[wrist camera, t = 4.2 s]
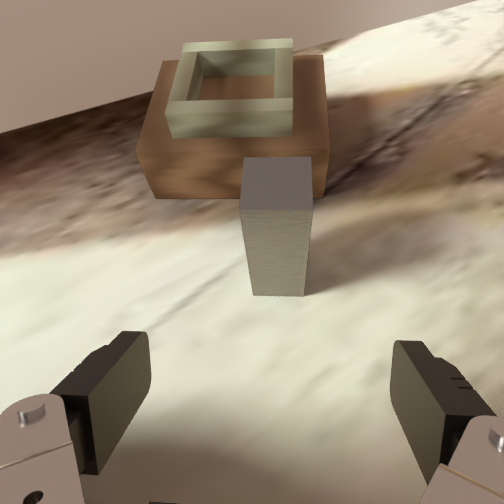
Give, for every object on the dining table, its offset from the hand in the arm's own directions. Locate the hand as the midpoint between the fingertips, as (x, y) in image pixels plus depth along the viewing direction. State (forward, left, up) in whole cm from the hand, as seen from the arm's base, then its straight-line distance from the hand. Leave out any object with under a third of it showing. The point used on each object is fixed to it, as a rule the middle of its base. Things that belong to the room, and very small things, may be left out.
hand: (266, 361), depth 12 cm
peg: (0, +11, -15) cm, 18 cm away
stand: (-4, +26, -15) cm, 30 cm away
